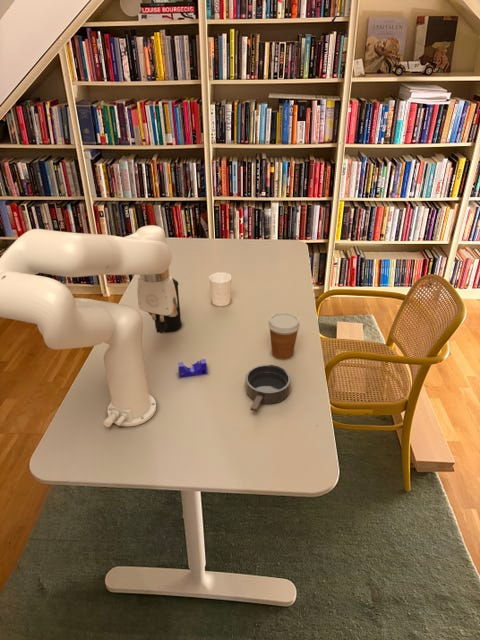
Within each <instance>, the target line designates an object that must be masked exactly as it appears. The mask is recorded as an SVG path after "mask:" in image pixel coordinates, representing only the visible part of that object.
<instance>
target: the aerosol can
mask: <svg viewBox="0 0 480 640" xmlns="http://www.w3.org/2000/svg"><path fill="white" fill-rule="evenodd" d="M172 279H173V282H174V286H175V290H176V295H177V308H176V309H177V312H178V314H177V315H176V316H175V317H168V318H167V329H166V330H165V331H164V332H163V333H174V332H177V331H179V330H180V329H181V328H182V326H183V323H182V318H181V307H180V306H181V305H180V296H179V281H178V280H177V279H175V278H173V277H172Z"/></svg>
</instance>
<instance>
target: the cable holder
mask: <svg viewBox="0 0 480 640" xmlns="http://www.w3.org/2000/svg"><path fill="white" fill-rule="evenodd" d="M207 365H208V363H207V360H206V359H205V358H202V359H201V358H200V359H199V360H197V361H196V362H195V363H193V364H191V367H188V366H186V365H185V363H184V361H179V362H177V371H178V377H179V379H182V378H190V377H196V376H205V375H208V368H207Z"/></svg>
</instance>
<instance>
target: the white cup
mask: <svg viewBox="0 0 480 640" xmlns="http://www.w3.org/2000/svg"><path fill="white" fill-rule="evenodd" d="M208 279H209V289H210V291H209V292H210V296H211V303H212V304H213V305H214V306H216V307H225V306H228V305H230V304H231V296H232V275H231V274H230V273H228V272H214V273H211V274H210V275H209V276H208Z"/></svg>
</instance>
